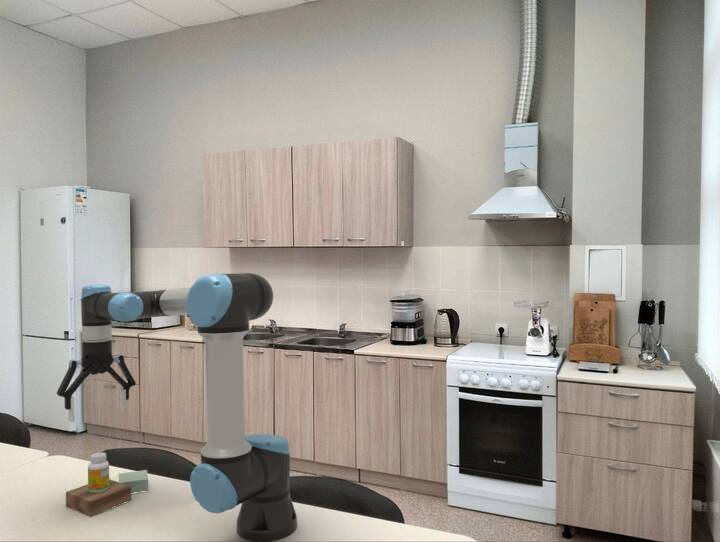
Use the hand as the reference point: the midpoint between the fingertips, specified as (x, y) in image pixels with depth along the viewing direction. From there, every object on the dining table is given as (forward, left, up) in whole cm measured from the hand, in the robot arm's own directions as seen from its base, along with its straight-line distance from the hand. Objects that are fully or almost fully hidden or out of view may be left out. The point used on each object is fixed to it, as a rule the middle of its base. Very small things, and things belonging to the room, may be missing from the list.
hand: (98, 416), depth 158 cm
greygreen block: (+4, -11, -25) cm, 27 cm away
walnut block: (0, 0, -25) cm, 25 cm away
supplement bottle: (0, 0, -21) cm, 21 cm away
